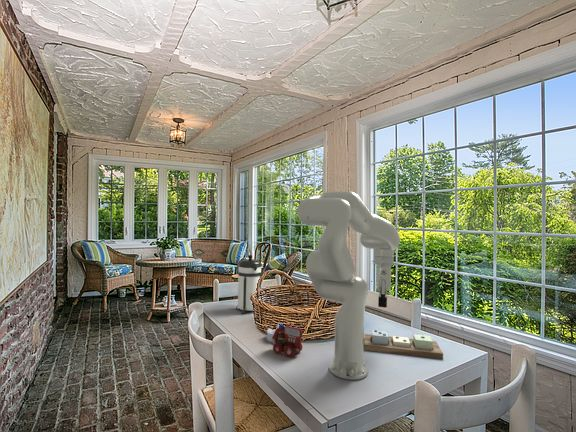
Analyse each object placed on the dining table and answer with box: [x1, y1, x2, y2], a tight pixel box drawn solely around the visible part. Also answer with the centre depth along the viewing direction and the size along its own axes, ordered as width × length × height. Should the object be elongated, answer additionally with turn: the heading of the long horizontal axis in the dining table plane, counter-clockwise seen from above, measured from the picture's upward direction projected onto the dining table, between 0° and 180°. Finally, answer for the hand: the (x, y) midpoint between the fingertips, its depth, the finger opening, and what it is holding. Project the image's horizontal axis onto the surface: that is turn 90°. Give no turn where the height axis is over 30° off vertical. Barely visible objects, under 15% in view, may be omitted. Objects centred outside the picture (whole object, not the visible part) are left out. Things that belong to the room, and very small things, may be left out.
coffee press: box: [235, 254, 263, 315], centre depth 173 cm, size 17×16×30 cm
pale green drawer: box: [412, 333, 433, 350], centre depth 124 cm, size 6×6×3 cm
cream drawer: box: [391, 335, 410, 347], centre depth 126 cm, size 6×6×3 cm
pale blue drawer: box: [371, 329, 389, 345], centre depth 128 cm, size 6×6×3 cm
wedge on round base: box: [266, 323, 285, 343], centre depth 132 cm, size 9×7×13 cm
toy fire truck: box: [271, 324, 303, 359], centre depth 119 cm, size 7×12×10 cm, turn 58°
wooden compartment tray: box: [364, 333, 444, 360], centre depth 126 cm, size 12×28×2 cm, turn 76°
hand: (382, 306), depth 127 cm, fingers closed
